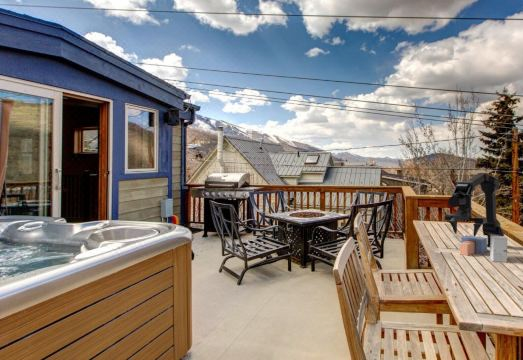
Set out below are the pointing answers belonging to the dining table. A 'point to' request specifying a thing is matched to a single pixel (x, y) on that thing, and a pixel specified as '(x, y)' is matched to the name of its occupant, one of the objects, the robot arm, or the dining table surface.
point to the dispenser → (477, 243)
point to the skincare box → (498, 248)
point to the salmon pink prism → (467, 247)
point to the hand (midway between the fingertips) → (464, 234)
